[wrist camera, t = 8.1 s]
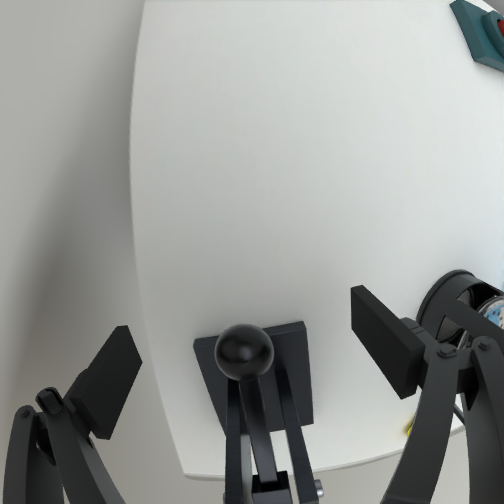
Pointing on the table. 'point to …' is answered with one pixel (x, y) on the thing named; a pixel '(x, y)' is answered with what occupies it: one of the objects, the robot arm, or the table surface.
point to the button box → (481, 33)
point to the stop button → (501, 26)
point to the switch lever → (254, 405)
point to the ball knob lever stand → (277, 410)
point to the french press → (464, 312)
